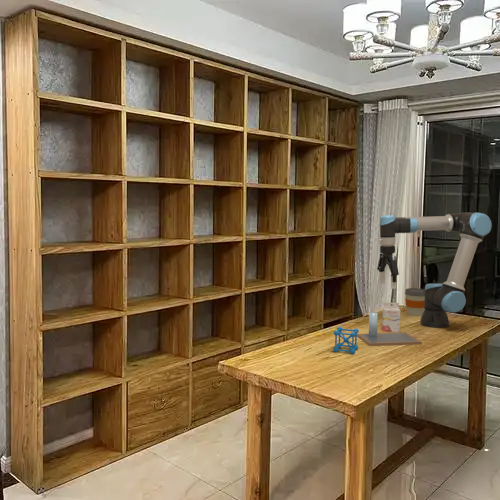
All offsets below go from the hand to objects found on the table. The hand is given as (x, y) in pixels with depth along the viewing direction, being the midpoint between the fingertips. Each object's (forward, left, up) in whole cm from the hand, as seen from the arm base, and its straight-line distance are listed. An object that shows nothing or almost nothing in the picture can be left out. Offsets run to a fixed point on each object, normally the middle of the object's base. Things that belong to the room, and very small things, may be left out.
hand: (387, 286), depth 273 cm
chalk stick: (+12, +11, -23) cm, 28 cm away
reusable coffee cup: (-35, -40, -25) cm, 59 cm away
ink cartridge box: (-4, -4, -25) cm, 26 cm away
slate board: (+5, +14, -25) cm, 28 cm away
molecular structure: (+32, +29, -25) cm, 49 cm away
